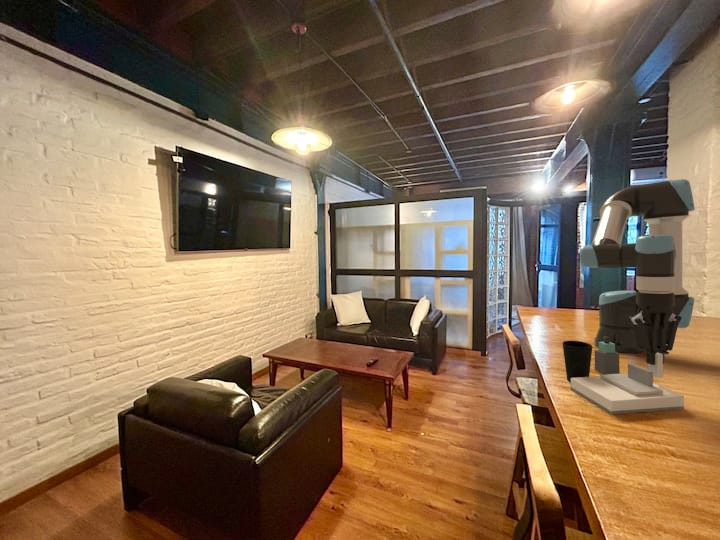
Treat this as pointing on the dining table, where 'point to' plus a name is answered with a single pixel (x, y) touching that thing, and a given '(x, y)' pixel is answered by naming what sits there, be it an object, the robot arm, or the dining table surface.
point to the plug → (606, 358)
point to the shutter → (634, 381)
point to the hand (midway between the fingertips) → (655, 375)
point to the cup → (577, 359)
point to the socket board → (624, 397)
